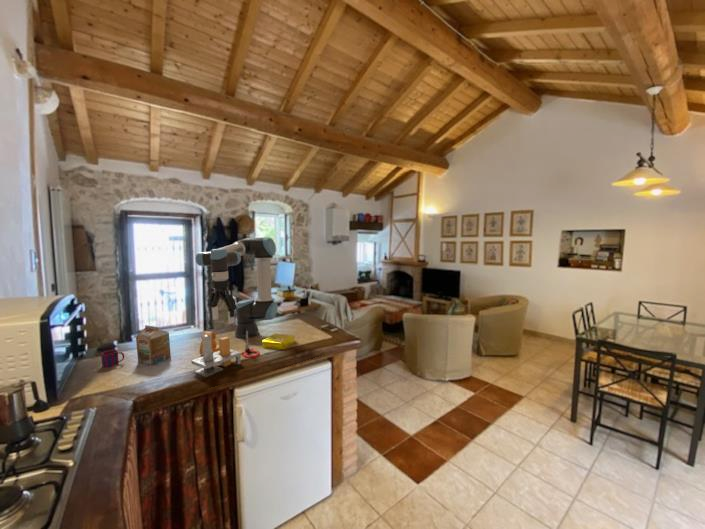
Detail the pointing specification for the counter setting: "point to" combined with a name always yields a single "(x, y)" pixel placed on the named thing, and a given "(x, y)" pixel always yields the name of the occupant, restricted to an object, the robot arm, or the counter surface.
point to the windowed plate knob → (212, 358)
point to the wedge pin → (224, 349)
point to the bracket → (214, 345)
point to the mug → (110, 358)
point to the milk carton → (152, 346)
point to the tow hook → (249, 349)
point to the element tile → (278, 341)
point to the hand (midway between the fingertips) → (223, 321)
